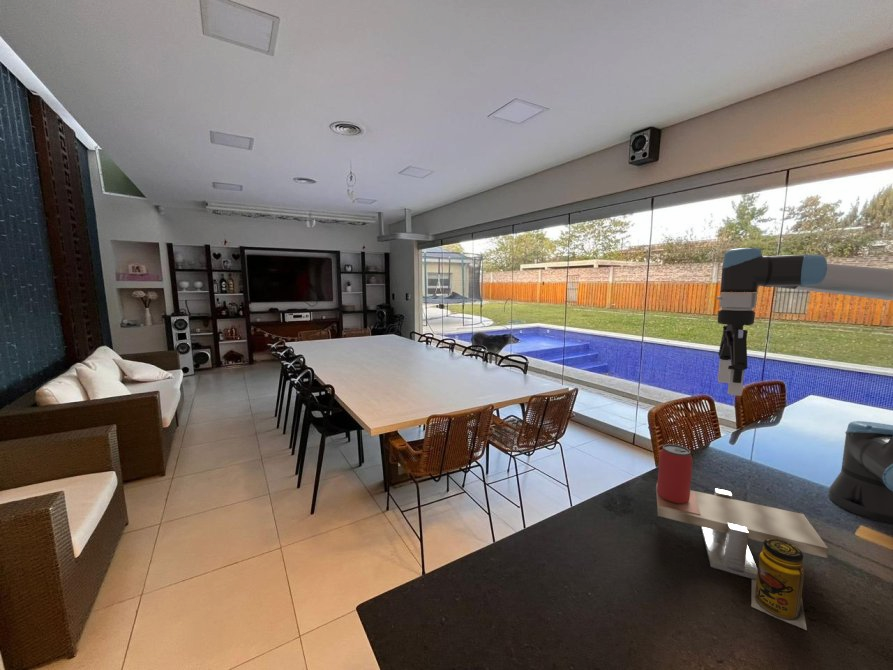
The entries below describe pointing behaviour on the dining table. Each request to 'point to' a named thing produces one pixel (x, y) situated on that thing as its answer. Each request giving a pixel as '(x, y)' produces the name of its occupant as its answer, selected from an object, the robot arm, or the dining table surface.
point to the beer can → (674, 474)
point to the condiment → (780, 582)
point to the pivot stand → (730, 547)
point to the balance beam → (745, 520)
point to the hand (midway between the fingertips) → (728, 388)
